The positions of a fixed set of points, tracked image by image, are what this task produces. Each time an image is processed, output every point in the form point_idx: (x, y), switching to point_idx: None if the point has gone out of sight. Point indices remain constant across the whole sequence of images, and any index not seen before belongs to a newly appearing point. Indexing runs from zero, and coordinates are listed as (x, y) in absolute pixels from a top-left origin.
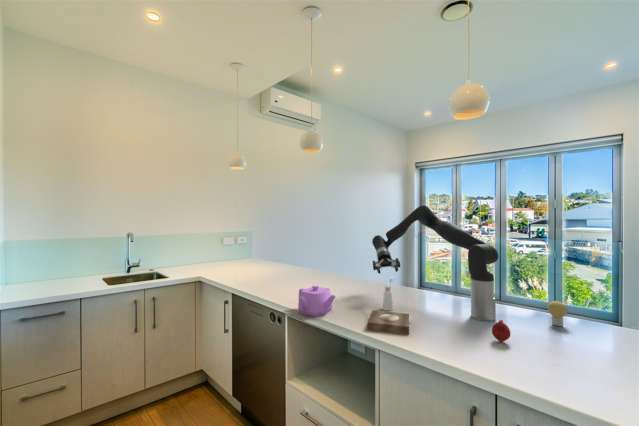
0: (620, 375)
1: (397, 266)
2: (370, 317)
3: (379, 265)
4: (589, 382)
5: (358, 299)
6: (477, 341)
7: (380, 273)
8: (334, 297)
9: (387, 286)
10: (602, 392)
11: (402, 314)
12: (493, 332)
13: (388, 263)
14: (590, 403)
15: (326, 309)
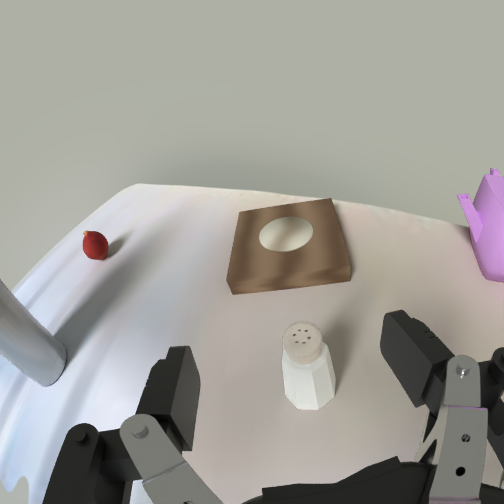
0: (69, 235)
1: (142, 394)
2: (335, 218)
3: (444, 388)
4: (101, 214)
5: None
6: (134, 247)
7: (380, 344)
8: (459, 200)
9: (304, 343)
10: (107, 206)
11: (247, 266)
12: (106, 241)
13: (277, 487)
14: (128, 192)
15: (473, 237)
